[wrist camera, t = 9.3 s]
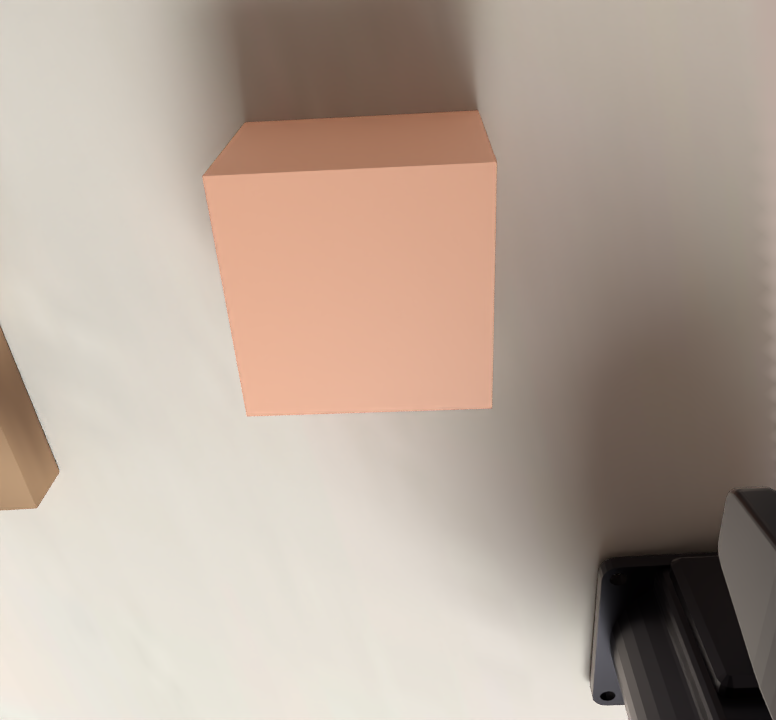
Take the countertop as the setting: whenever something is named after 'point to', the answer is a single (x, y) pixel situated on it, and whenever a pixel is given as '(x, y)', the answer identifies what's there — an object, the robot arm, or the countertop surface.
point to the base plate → (21, 442)
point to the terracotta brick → (358, 262)
